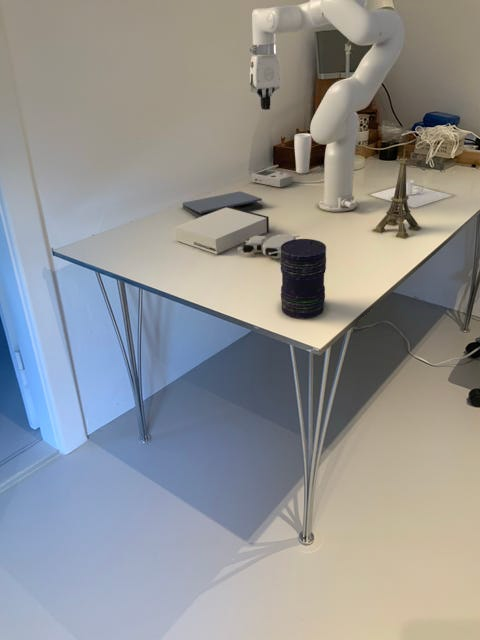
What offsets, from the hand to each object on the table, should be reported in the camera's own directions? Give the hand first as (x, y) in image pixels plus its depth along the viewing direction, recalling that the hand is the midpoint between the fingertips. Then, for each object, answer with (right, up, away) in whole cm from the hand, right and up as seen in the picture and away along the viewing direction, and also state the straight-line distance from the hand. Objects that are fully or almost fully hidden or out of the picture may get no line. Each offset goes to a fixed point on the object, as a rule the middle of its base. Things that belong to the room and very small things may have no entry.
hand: (265, 109), depth 189 cm
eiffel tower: (+38, -47, -26) cm, 66 cm away
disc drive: (-14, -49, -25) cm, 56 cm away
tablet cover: (-15, -33, -2) cm, 37 cm away
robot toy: (-1, -55, -37) cm, 67 cm away
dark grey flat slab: (-15, -35, -1) cm, 38 cm away
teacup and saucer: (+51, -30, +2) cm, 59 cm away
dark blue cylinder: (+5, -71, -66) cm, 98 cm away
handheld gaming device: (+4, -20, +23) cm, 31 cm away
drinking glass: (+17, -13, +35) cm, 41 cm away
